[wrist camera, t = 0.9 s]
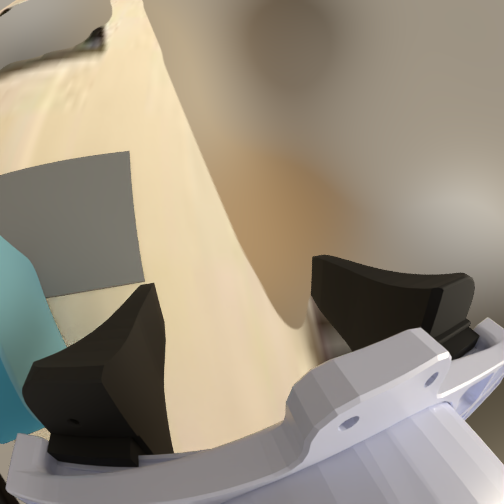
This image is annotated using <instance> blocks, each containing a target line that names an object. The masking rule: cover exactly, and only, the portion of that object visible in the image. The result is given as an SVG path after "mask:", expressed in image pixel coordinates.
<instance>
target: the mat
mask: <svg viewBox="0 0 504 504" xmlns="http://www.w3.org/2000/svg"><path fill="white" fill-rule="evenodd" d="M0 236H2V237H3V238H4V239H5V240H6V241H7V242H9V243H10V244H11V245H12V246H13V247H14V248H16V249H17V250H18V251H19V252H21V253H22V254H23V255H24V256H26V257H27V258H28V259H29V260H30V262H31V263H32V265H33V267H34V269H35V271H36V273H37V276H38V279H39V282H40V285H41V287H42V290H43V293H44V296H45V298H50V297H56V296H62V295H68V294H74V293H80V292H86V291H92V290H98V289H104V288H110V287H116V286H122V285H128V284H134V283H139V282H145V279H144V274H143V268H142V263H141V257H140V251H139V244H138V237H137V230H136V222H135V214H134V205H133V195H132V184H131V171H130V154H129V151H125V152H116V153H108V154H101V155H94V156H87V157H81V158H75V159H69V160H64V161H58V162H53V163H48V164H44V165H39V166H35V167H30V168H26V169H22V170H18V171H14V172H10V173H7V174H3V175H0Z"/></svg>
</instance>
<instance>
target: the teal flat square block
mask: <svg viewBox="0 0 504 504" xmlns="http://www.w3.org/2000/svg"><path fill="white" fill-rule="evenodd" d="M65 348H67V347H66V345H65V343H64V341H63V338H62V336H61V334H60V332H59V330H58V328H57V325H56V323H55V321H54V318H53V316H52V314H51V311H50V309H49V306H48V304H47V301H46V298H45V296H44V293H43V290H42V287H41V285H40V282H39V279H38V276H37V273H36V271H35V269H34V267H33V265H32V263H31V262H30V260H29V259H28V258H27V257H26V256H24V255H23V254H22V253H21V252H19V251H18V250H17V249H16V248H14V247H13V246H12V245H11V244H10V243H9V242H7V241H6V240H5V239H4V238H3V237H2V236H0V443H1V444H4V443H8V442H10V441H13V440H15V439H16V437H17V433H22V434H27V435H28V434H30V433H33V432H35V431H37V430H40V429H42V428H45V427H44V425H43V424H42V423H41V422H40V421H39V420H38V419H37V418H36V416H35V415H34V414H33V413H32V412H31V410H30V409H29V407H28V406H27V405H26V403H25V401H24V398H23V395H22V387H23V385H24V382H25V380H26V378H27V375H28V373H29V371H30V368H31V366H32V364H33V362H34V361H37V360H40V359H42V358H45V357H47V356H50V355H52V354H55V353H57V352H59V351H61V350H63V349H65Z"/></svg>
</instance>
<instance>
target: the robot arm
mask: <svg viewBox="0 0 504 504" xmlns="http://www.w3.org/2000/svg"><path fill="white" fill-rule="evenodd" d="M311 283H312V284H311V296H312V297H313V299H314V301H315V303H316V304H317V306H318V308H319V309H320V311H321V312H322V313H323V315H324V316H325V317H326V318H327V319H328V321H329V322H330V323H331V324H332V326H333V327H334V328H335V329H336V330H337V332H338V333H339V334H340V335H341V336H342V338H343V339H344V340H345V341H346V343H347V344H348V346H349V347H350V349H351V350H352V352H351V353H348V354H345V355H342V356H339V357H336V358H333V359H330V360H328V361H326V362H324V363H323V364H321V365H319V366H317V367H315V368H313V369H310V370H309V371H308V372H307V373H306V374H305V375H304V376H303V377H302V378H301V379H300V380H299V381H297V382H296V383H295V384H294V386H293V387H292V390H291V392H290V394H289V396H288V399H287V401H286V412H285V418H284V420H283V421H281V422H279V423H276V424H274V425H272V426H270V427H267V428H265V429H263V430H260V431H258V432H256V433H253V434H251V435H248V436H246V437H243V438H241V439H238V440H235V441H233V442H230V443H227V444H224V445H221V446H218V447H215V448H212V449H207V450H200V451H192V452H183V453H174V451H173V447H172V442H171V437H170V431H169V425H168V419H167V411H166V403H165V394H164V363H165V344H166V338H165V324H164V319H163V315H162V312H161V308H160V304H159V300H158V296H157V292H156V288H155V284H154V283H150V284H144V285H140V286H139V287H138V288H137V289H136V290H135V291H134V292H133V294H132V295H131V296H130V297H129V298H128V299H127V300H126V301H125V302H124V304H123V305H122V306H121V307H120V308H119V309H118V310H117V311H116V312H115V313H114V314H113V315H112V316H111V317H110V318H109V319H108V320H106V321H105V322H104V323H103V324H102V325H101V326H99V327H98V328H97V329H96V330H94V331H93V332H92V333H90V334H88V335H87V336H85V337H84V338H82V339H81V340H79V341H78V342H76V343H75V344H73V345H71V346H69V347H67V348H65V349H63V350H61V351H59V352H57V353H55V354H52V355H50V356H47V357H45V358H42V359H40V360H37V361H34V362H33V364H32V366H31V368H30V371H29V373H28V375H27V378H26V380H25V382H24V385H23V387H22V395H23V398H24V401H25V403H26V405H27V406H28V407H29V409H30V410H31V412H32V413H33V414H34V415H35V416H36V418H37V419H38V420H39V421H40V422H41V423H42V424H43V425H44V427H45V428H46V429H47V430H48V431H49V432H50V433H51V435H50V440H49V441H48V440H46V439H44V438H42V437H39V436H33V435H27V434H22V433H17V437H16V441H15V444H14V449H13V453H12V457H11V462H10V467H9V472H8V477H7V483H6V490H7V492H9V493H10V494H12V495H13V496H15V497H16V498H18V499H19V500H21V501H23V502H24V503H26V504H504V465H503V464H502V462H501V461H500V460H499V459H498V458H497V457H496V456H495V454H494V453H493V452H492V451H491V450H490V449H489V447H488V446H487V445H486V444H485V443H484V442H483V441H482V440H481V438H480V437H479V436H478V435H477V434H476V433H475V432H474V431H473V430H472V428H471V427H470V426H469V425H468V424H467V423H466V422H465V419H467V417H469V416H470V414H472V413H473V411H475V410H476V409H477V407H478V406H479V405H480V404H481V403H482V402H483V401H484V400H485V399H486V398H487V397H488V396H489V395H490V394H491V392H492V391H493V390H494V389H495V388H496V387H497V386H498V385H499V383H500V382H501V380H502V379H503V377H504V329H503V328H502V327H501V326H499V325H497V324H496V323H495V322H494V321H493V320H491V319H490V318H486V319H485V320H483V321H482V322H481V323H479V324H478V325H477V326H476V327H475V328H474V330H472V329H471V328H469V326H470V324H471V322H470V321H469V320H468V319H466V316H467V314H468V311H469V308H470V305H471V302H472V299H473V295H474V289H475V286H474V281H473V279H472V278H471V277H470V276H468V275H467V274H465V273H453V274H441V275H420V274H407V273H399V272H393V271H387V270H382V269H378V268H373V267H370V266H366V265H362V264H359V263H355V262H352V261H349V260H345V259H341V258H338V257H334V256H330V255H319V256H314V257H312V282H311Z"/></svg>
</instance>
